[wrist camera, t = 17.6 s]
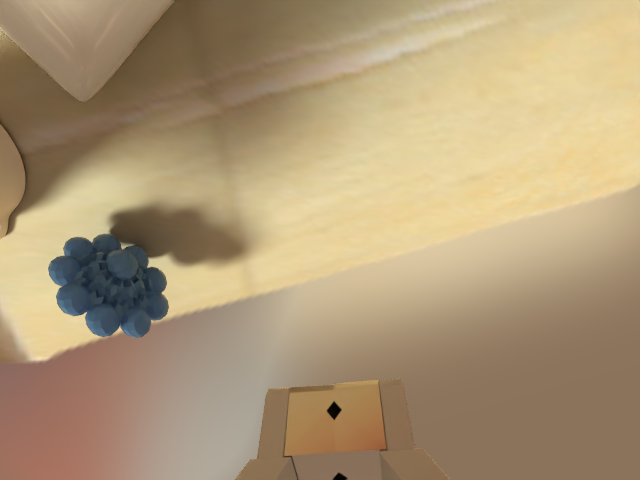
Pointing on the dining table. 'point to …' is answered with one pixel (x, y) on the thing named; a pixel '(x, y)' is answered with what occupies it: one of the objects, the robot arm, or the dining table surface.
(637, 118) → the dining table surface
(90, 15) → the square plate
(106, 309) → the grapes
